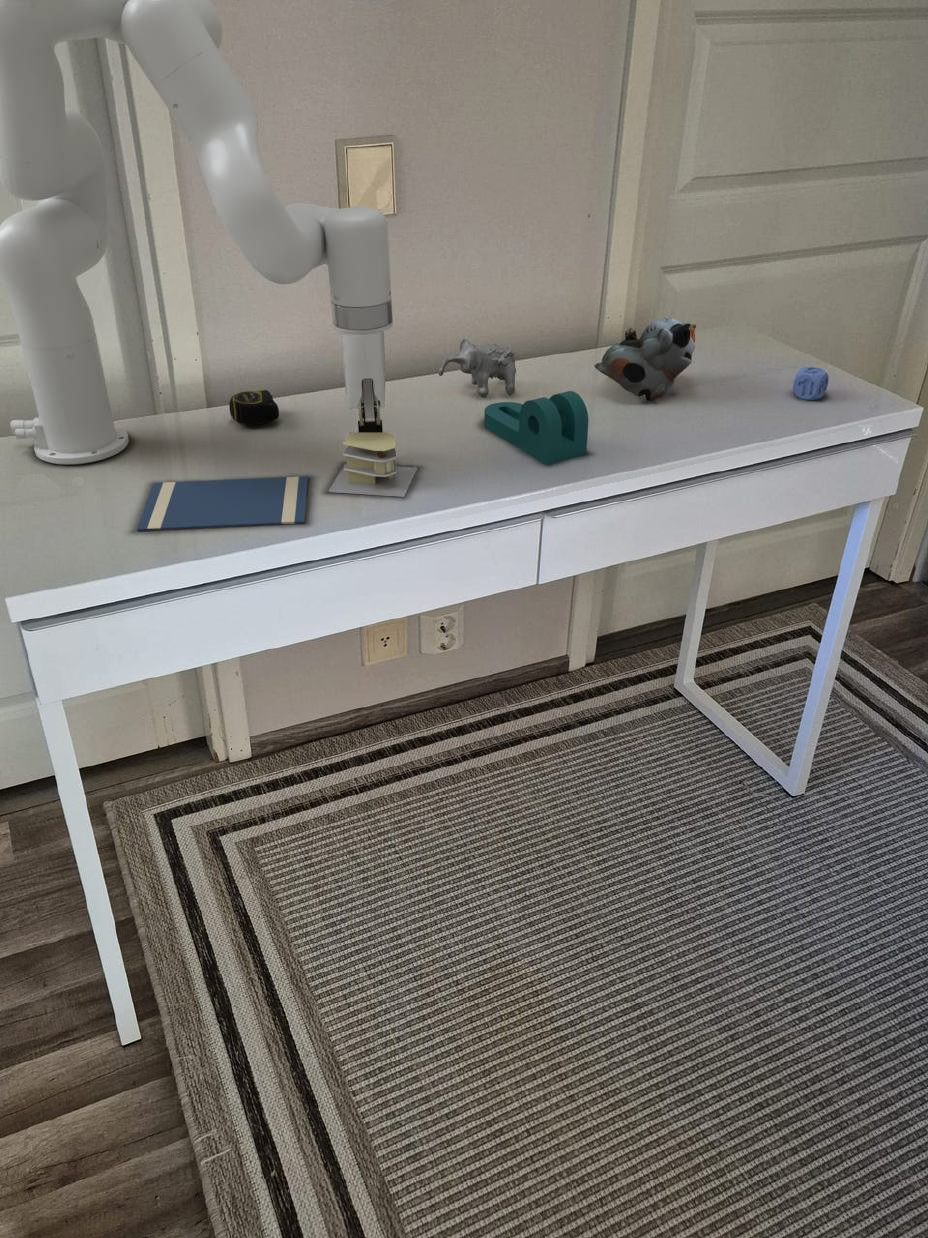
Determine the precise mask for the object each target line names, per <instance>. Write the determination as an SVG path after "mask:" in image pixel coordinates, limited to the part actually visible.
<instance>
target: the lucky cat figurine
mask: <svg viewBox="0 0 928 1238" xmlns="http://www.w3.org/2000/svg"><path fill="white" fill-rule="evenodd" d="M696 328H697V325H696V324H691V323H689V322H688V323H685V321H682V320H680V319H678V318H676V317H675V318H674V317H663V318H660V319H656V320H653V321H651V322H650V324H648V325H647V326H646V328H645V329H643V332H642V333H641V335H640V337H639V338H638V336H637V331H636V330H635V329H634V328H633V327H629V328H628V329H627V330H626V331H625V333H624V340H622V341H620V342H619V343H616V344H613V345H611V346H610V347H609V348H608V349H607V350H606V351H605V352H604V354H603V355H602V358H601V361H600V362H597V363H595V364H594V368H595V369H596V370H597V371H598V372H600V374H603V375H604V376H605V377H608V378H609V379H611V380H612V381H614V382H615V383H617V384H618V385H619V386H620V387H621V388H622V389H623V390H624V391H626V392H629V393H631V394H632V395H634V396H636V397H639V398H640V397H642V396H645V401H646V402H655V400H659V399H661V398H664V397H667V396H669V395H670V394H671V393H672V390H673V388H674V382H675V379H676V378H677V377H678V376H679V375H680V374H681V373H683V372H684V371H685V370H686V369H687V368H688V367H689V366H690V365H691V364H692V362H693V359H692V358H693V354H694V351H695V349H696V347H697V346H696V344H695V343H696V333H695V331H696Z"/></svg>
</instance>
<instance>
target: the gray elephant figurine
mask: <svg viewBox="0 0 928 1238" xmlns="http://www.w3.org/2000/svg"><path fill="white" fill-rule="evenodd" d="M515 355H516V352H515V351H512V350H511V349H510V348H509V347H508V346H507V347H502V346H500V345H499V344H497V343H490V344H489V343H487V344H486V345H477V344H474V343H471V342H470V341H469V340H468V339H467V338H463V339H462V340H461V342H460V344H459V353H456V354H453V355H449V356H446V357H445V358H444V360H443V361H442V362H441V365H440V368H439V369H438V376H439V377H442V376H443V375H444V373H445V368H446V366H448V364H449V363H457V364H458V365H459V366H460V371H461V372H462V373H464V374H467V375H471V379H470V380H471V385H474V386H476V387H477V388H476V393H477V395H478V396H479V397H481V398H486V397H487V396H488V395H489V392H490V389H489V379H491V380H493V379H494V378H495V379H498V380H500V381H504V391H505V393H506V394H507V395H509V396H513V394H515V392H516V374H517V369H516V368H517V367H516V360H515V359H516V357H515Z"/></svg>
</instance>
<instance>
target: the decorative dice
mask: <svg viewBox="0 0 928 1238" xmlns="http://www.w3.org/2000/svg"><path fill="white" fill-rule="evenodd" d="M829 380H830V379H829V374H828V373H827V371H826V370H825V369H823V368H821V367H815V366H803V367H801V368H800V369H799V370H798V371H797V372H796V374H795V377H794V379H793V383H792V391H793V394H794V395H795V396H796V398H798V399H801V400H806V401H818V400H821V399H822V398H823V396H824V395H825V394H826V391H827V389H828V387H829Z"/></svg>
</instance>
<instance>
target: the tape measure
mask: <svg viewBox="0 0 928 1238" xmlns="http://www.w3.org/2000/svg"><path fill="white" fill-rule="evenodd" d="M228 405H229V406H228V407H229V414H230V416H231V418H232V419H233V421H234V422H236V423H238V424H241V425H246V426H257V425H262V424H264V423H269V422H270V423H271V422H273V421H276V420H278V419H279V417H280V410H279V406H278V404H277V403H276V402H275V400H274V398H273V395H272V394H271V392H270V391H269V390H267V389H263V390H245V391H240V392H237V393H235V394H233V395H232V396H231V397H230V399H229V402H228Z"/></svg>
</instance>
